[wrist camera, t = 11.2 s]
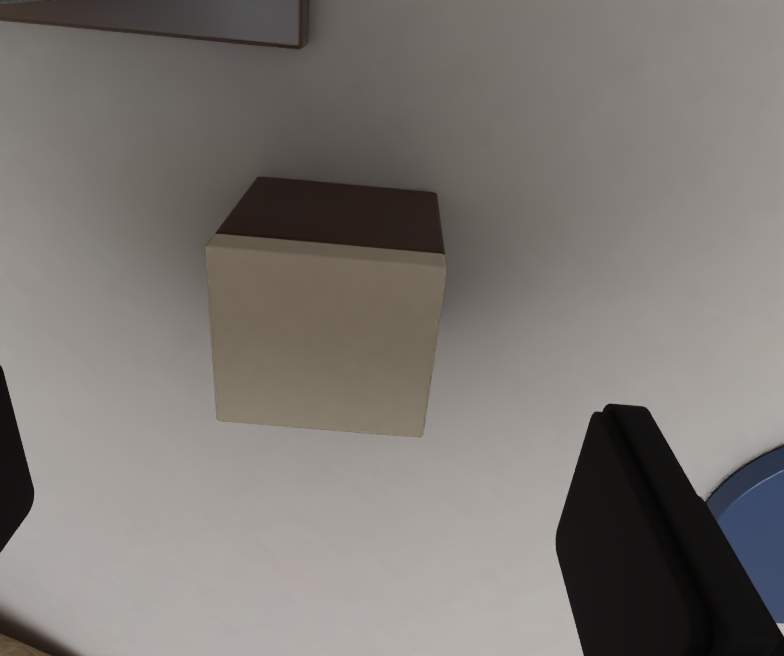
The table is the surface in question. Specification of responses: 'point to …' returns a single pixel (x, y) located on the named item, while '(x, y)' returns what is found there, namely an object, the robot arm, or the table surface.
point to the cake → (177, 18)
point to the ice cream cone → (17, 648)
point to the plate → (756, 525)
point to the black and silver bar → (19, 1)
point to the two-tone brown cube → (326, 306)
